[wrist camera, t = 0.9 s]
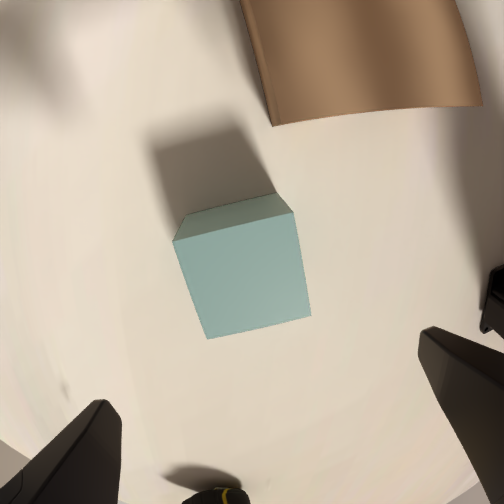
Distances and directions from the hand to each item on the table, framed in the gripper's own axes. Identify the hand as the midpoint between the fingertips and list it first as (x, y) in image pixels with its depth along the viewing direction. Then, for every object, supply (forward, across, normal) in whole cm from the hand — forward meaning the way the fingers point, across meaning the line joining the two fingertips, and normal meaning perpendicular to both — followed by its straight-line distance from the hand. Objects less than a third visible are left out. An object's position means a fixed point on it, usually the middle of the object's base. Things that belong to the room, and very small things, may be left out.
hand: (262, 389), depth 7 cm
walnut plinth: (+11, -9, -13) cm, 19 cm away
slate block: (+11, 0, 0) cm, 11 cm away
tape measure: (+10, +13, +28) cm, 33 cm away
